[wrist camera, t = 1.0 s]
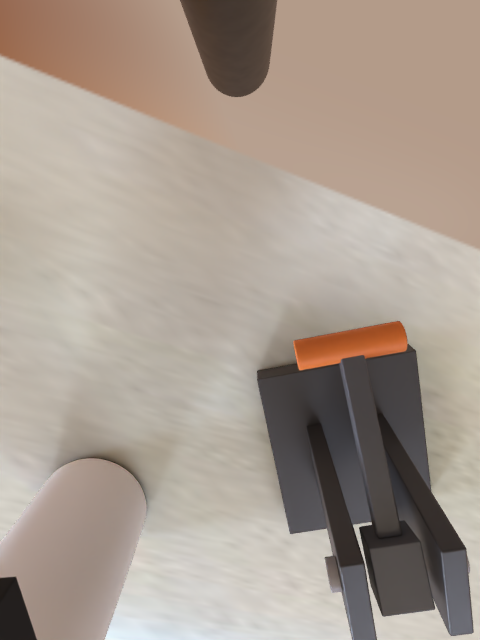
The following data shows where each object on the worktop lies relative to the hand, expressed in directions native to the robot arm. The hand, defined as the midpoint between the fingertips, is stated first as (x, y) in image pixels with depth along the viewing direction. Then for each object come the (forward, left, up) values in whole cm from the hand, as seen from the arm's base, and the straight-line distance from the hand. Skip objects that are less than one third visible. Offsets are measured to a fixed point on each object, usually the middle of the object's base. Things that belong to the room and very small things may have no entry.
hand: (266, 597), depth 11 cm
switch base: (+6, +6, -18) cm, 20 cm away
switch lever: (+2, +5, -10) cm, 11 cm away
